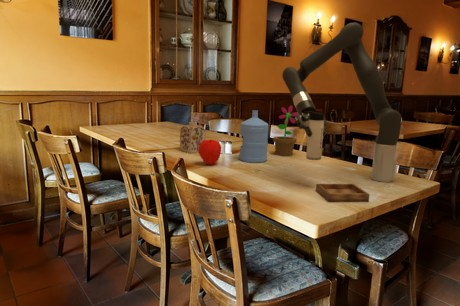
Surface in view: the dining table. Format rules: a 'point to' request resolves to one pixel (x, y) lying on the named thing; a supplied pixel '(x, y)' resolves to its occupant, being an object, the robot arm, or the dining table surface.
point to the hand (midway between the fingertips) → (317, 135)
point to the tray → (342, 193)
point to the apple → (210, 151)
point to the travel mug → (315, 136)
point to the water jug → (254, 139)
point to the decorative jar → (191, 137)
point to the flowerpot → (282, 142)
